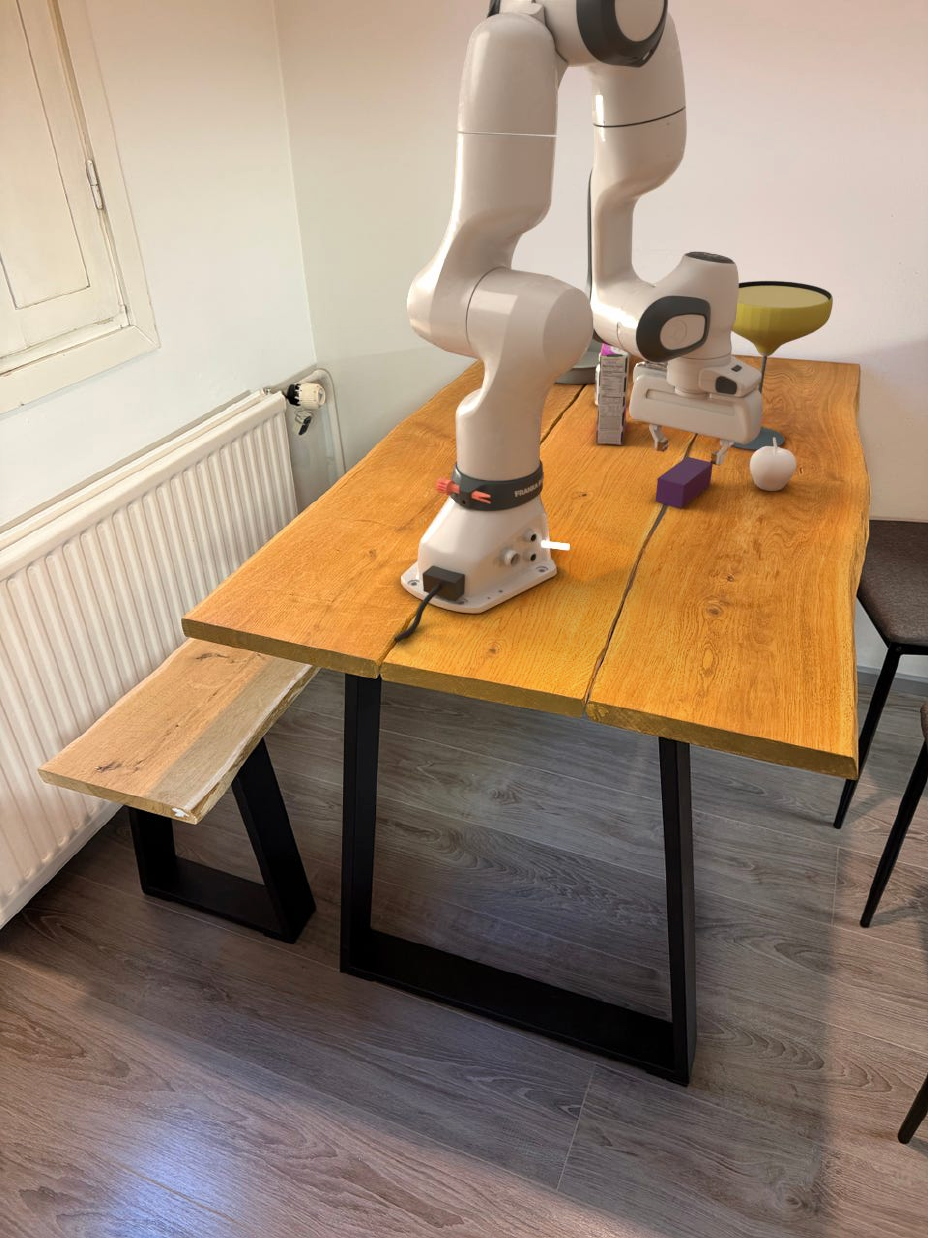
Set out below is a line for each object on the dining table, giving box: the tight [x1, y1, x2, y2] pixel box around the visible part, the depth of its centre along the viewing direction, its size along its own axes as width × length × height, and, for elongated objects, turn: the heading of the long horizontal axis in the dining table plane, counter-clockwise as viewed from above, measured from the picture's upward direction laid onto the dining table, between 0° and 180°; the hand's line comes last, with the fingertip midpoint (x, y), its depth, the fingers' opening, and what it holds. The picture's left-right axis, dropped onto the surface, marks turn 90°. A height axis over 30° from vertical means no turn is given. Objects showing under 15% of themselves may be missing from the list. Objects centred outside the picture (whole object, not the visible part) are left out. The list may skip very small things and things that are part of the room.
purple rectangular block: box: [655, 456, 714, 509], centre depth 140 cm, size 10×4×4 cm, turn 142°
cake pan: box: [554, 339, 633, 385], centre depth 192 cm, size 25×25×4 cm
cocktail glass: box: [730, 280, 834, 451], centre depth 151 cm, size 18×18×25 cm
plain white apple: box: [749, 438, 797, 492], centre depth 140 cm, size 7×7×8 cm
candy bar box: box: [595, 344, 631, 446], centre depth 158 cm, size 11×5×16 cm, turn 168°
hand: (688, 456), depth 138 cm, fingers open, 8 cm apart
